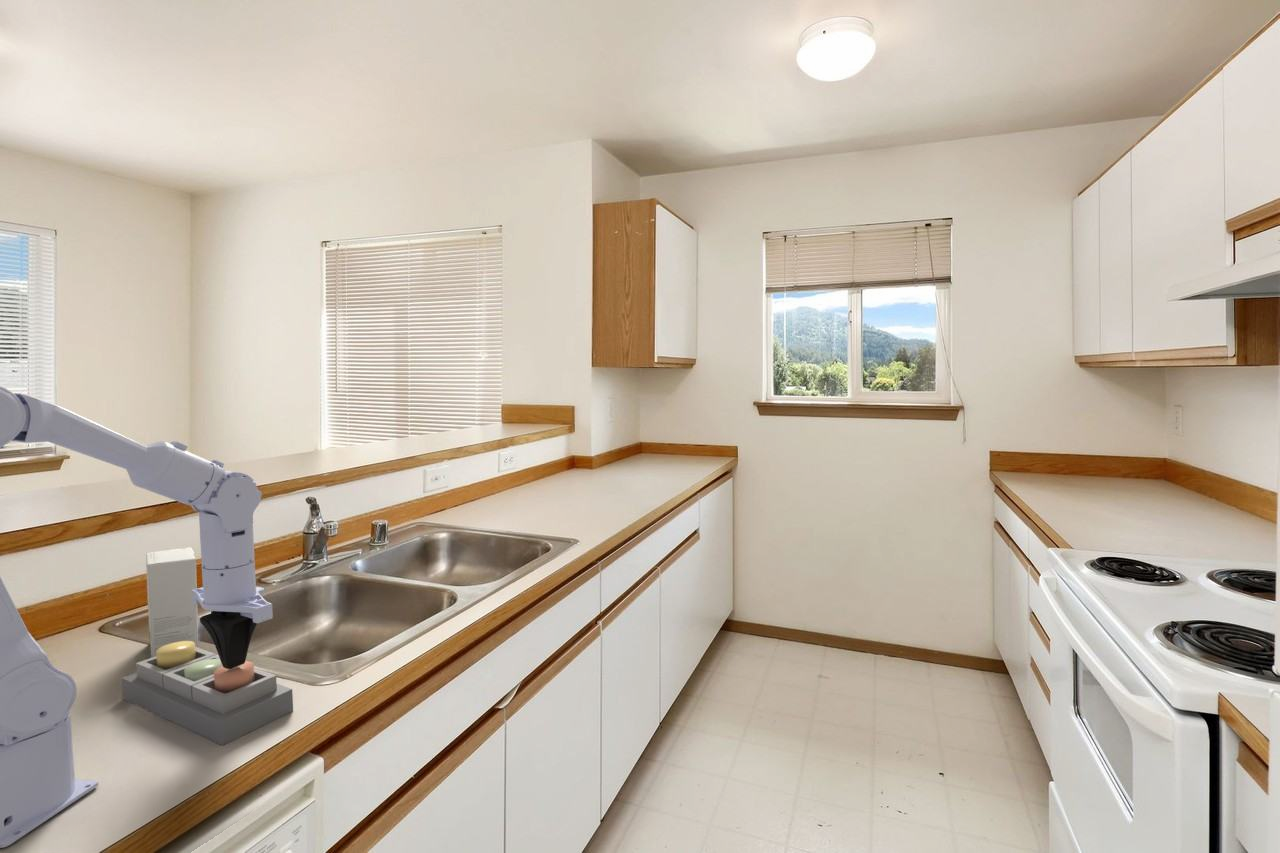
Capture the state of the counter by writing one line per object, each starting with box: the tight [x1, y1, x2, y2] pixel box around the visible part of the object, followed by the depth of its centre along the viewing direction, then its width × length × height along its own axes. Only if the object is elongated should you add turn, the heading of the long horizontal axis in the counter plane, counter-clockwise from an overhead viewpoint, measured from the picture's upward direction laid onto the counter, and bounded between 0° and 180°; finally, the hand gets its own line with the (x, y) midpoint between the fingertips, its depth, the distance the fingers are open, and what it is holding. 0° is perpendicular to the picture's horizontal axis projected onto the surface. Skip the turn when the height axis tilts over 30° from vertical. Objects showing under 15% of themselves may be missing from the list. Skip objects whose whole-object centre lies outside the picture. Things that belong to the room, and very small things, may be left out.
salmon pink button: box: [214, 660, 255, 692], centre depth 82 cm, size 4×4×2 cm
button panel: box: [121, 647, 294, 746], centre depth 85 cm, size 24×9×5 cm, turn 62°
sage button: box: [184, 659, 223, 681], centre depth 85 cm, size 4×4×2 cm
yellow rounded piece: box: [156, 641, 196, 668], centre depth 88 cm, size 4×4×2 cm
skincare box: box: [145, 546, 199, 658], centre depth 104 cm, size 8×7×16 cm
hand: (234, 665), depth 82 cm, fingers closed
